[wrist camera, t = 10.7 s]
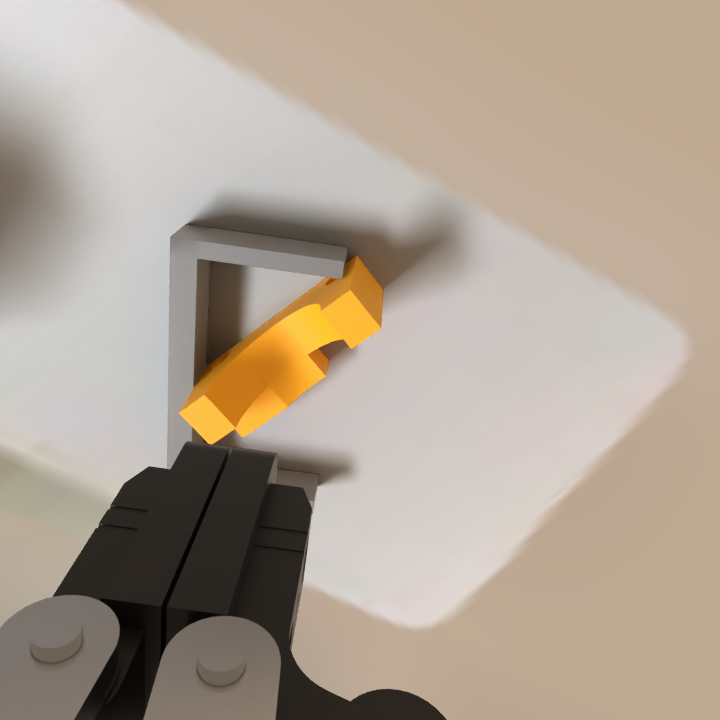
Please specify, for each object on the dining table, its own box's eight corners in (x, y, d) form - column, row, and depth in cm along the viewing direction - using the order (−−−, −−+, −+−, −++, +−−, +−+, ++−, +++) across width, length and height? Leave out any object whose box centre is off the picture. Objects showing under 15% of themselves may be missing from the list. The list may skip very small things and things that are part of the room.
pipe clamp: (252, 412, 44) (231, 467, 38) (208, 364, 43) (178, 413, 37) (400, 310, 41) (401, 353, 35) (357, 254, 39) (350, 289, 34)
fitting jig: (180, 467, 46) (166, 493, 43) (186, 224, 39) (170, 236, 36) (317, 486, 46) (312, 513, 43) (347, 247, 39) (344, 261, 36)
